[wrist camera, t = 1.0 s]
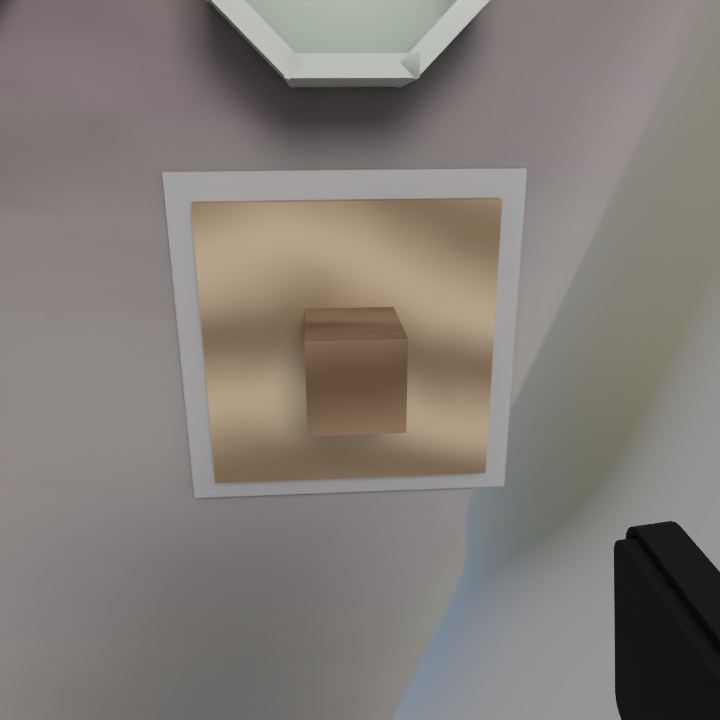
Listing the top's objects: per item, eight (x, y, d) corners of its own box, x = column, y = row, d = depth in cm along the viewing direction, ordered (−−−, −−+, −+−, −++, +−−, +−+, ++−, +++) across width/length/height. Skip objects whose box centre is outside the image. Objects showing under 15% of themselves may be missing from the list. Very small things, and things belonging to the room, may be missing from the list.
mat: (501, 480, 35) (504, 486, 35) (196, 492, 34) (194, 498, 34) (523, 167, 30) (526, 168, 30) (165, 171, 29) (161, 172, 29)
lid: (481, 465, 34) (513, 528, 29) (217, 475, 34) (198, 542, 28) (497, 197, 30) (538, 212, 24) (194, 201, 29) (165, 217, 24)
